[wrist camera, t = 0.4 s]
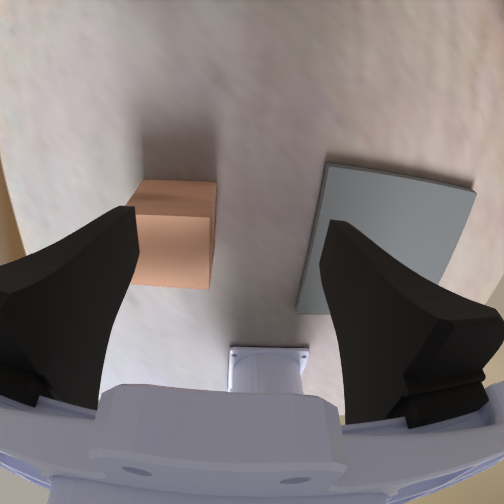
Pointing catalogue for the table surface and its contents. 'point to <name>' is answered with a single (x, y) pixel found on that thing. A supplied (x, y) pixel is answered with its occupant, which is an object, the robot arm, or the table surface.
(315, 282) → the slate mat
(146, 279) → the cube
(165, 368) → the table surface
